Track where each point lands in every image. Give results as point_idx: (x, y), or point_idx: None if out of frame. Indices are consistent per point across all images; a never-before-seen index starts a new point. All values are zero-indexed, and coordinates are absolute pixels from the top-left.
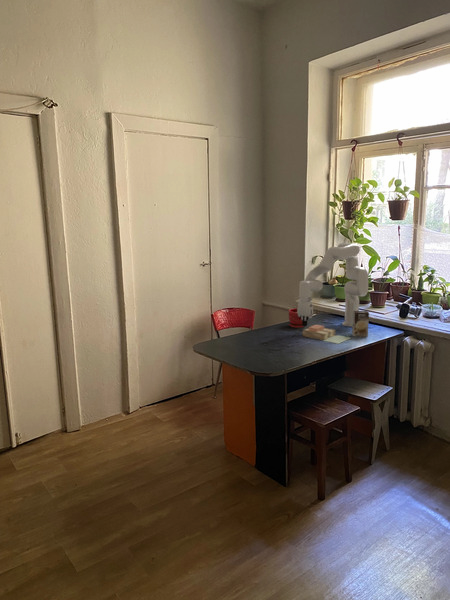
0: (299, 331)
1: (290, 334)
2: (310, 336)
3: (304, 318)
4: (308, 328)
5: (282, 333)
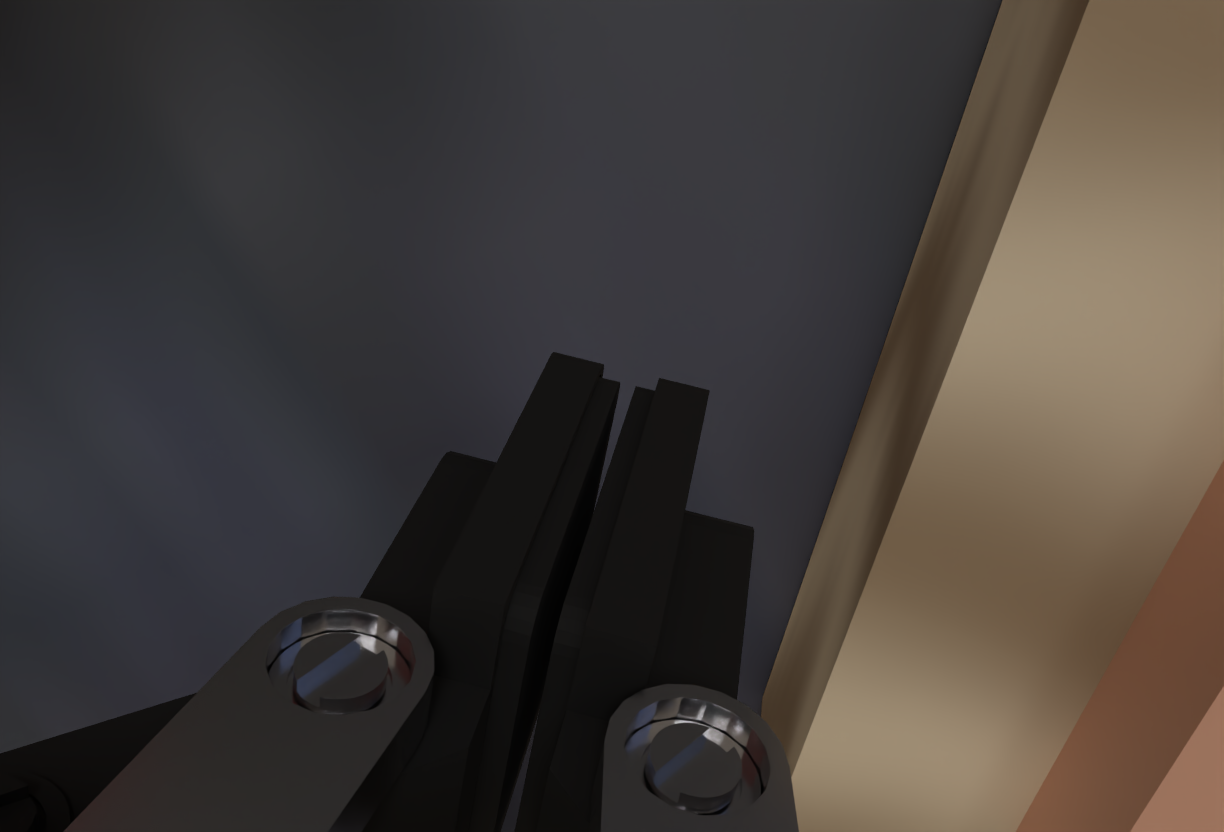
0: (337, 131)
1: None
2: None
3: (394, 804)
4: (908, 577)
5: (31, 629)
